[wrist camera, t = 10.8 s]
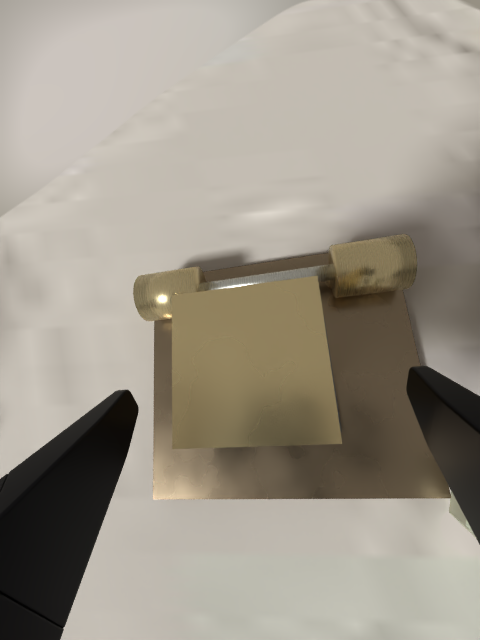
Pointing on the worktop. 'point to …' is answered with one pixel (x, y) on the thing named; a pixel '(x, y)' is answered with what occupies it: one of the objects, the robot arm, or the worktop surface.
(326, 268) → the hinge leaf
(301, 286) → the brass post
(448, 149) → the worktop surface
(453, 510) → the valve
